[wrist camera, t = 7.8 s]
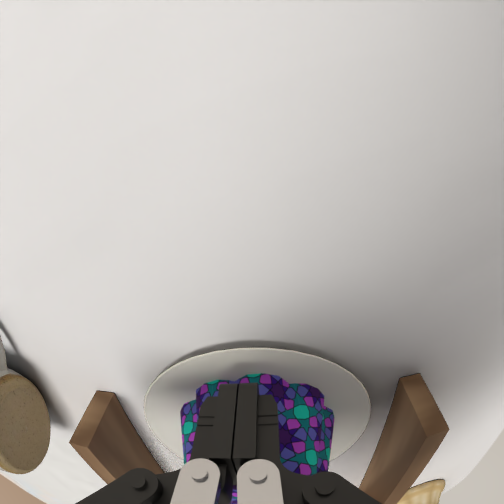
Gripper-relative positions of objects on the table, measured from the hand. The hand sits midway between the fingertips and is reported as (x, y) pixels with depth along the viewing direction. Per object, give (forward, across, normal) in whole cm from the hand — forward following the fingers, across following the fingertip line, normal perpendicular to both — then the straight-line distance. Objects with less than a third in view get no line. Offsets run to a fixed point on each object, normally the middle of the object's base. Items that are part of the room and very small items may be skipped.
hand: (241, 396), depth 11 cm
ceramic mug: (+2, +18, +2) cm, 18 cm away
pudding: (+2, 0, +4) cm, 5 cm away
